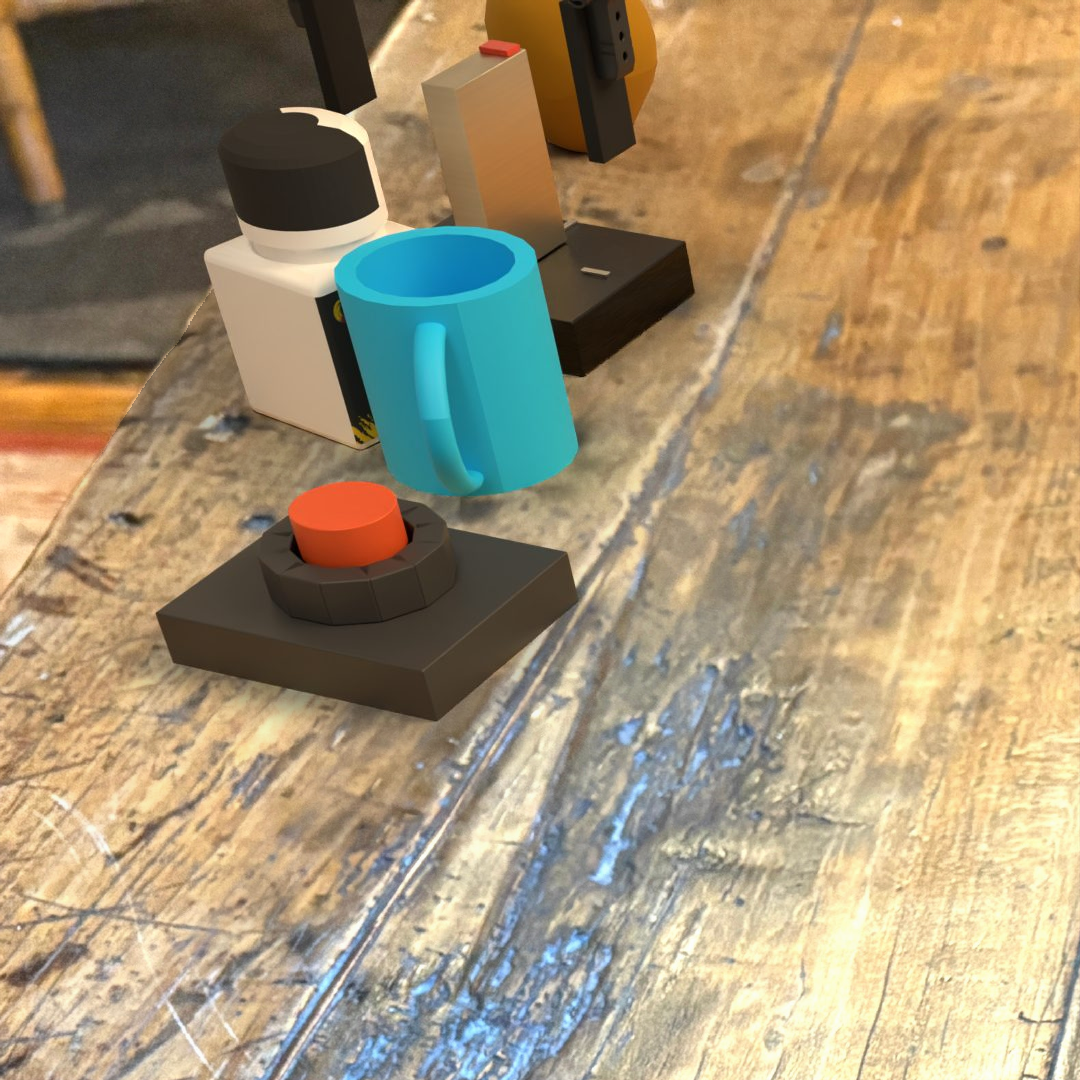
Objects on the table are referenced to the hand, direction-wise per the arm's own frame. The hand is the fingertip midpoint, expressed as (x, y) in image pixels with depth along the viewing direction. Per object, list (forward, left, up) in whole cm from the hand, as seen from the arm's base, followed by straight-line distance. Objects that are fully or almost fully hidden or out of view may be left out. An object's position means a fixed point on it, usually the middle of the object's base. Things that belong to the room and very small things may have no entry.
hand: (481, 130), depth 120 cm
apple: (-9, +20, -9) cm, 24 cm away
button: (+11, -28, -5) cm, 30 cm away
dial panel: (0, 0, -8) cm, 8 cm away
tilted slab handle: (0, 0, -6) cm, 6 cm away
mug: (+7, -15, -9) cm, 19 cm away
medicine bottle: (-1, -11, -9) cm, 14 cm away
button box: (+11, -28, -8) cm, 31 cm away
